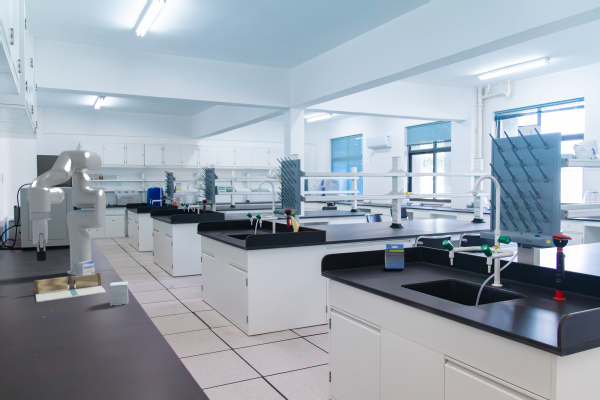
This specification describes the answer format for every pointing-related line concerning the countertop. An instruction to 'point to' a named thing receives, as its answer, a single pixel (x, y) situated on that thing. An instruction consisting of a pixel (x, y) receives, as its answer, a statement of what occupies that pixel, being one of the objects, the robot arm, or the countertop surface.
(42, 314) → the countertop surface
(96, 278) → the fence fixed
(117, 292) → the product box
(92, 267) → the medicine box
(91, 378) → the countertop surface
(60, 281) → the fence panel
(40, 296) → the card
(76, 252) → the robot arm
